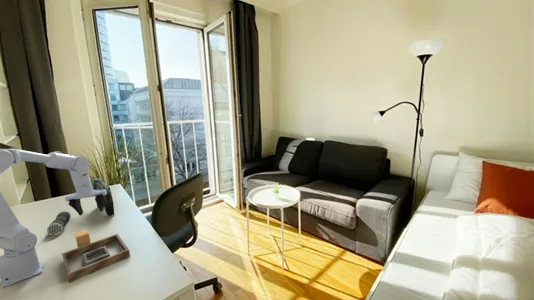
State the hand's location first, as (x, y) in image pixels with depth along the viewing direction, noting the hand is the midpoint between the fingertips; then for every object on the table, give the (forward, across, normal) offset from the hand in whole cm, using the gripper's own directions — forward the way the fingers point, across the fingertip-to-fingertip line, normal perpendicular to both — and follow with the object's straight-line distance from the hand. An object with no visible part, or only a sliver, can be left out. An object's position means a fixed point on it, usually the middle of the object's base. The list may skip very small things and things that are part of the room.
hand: (91, 212), depth 106 cm
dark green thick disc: (+12, +4, -25) cm, 28 cm away
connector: (+10, +2, +10) cm, 14 cm away
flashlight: (+11, +19, -12) cm, 25 cm away
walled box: (+9, -6, +21) cm, 24 cm away
